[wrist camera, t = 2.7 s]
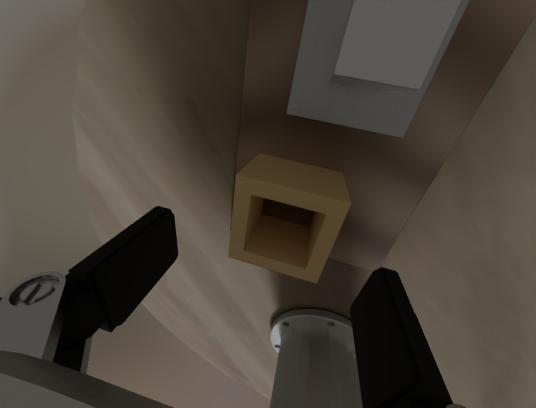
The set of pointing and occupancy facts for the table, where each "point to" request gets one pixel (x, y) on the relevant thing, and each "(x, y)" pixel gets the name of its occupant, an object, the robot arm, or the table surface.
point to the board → (363, 141)
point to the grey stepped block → (370, 60)
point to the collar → (280, 231)
